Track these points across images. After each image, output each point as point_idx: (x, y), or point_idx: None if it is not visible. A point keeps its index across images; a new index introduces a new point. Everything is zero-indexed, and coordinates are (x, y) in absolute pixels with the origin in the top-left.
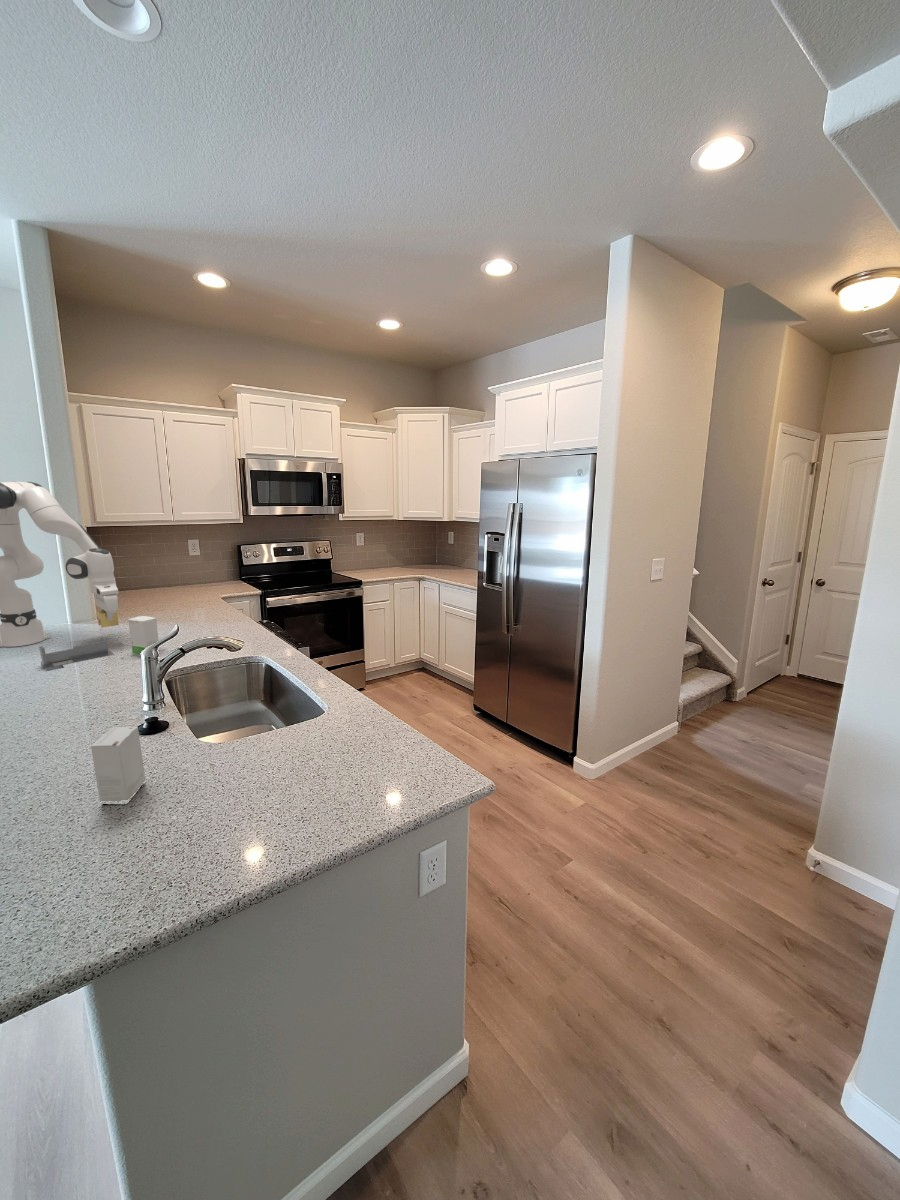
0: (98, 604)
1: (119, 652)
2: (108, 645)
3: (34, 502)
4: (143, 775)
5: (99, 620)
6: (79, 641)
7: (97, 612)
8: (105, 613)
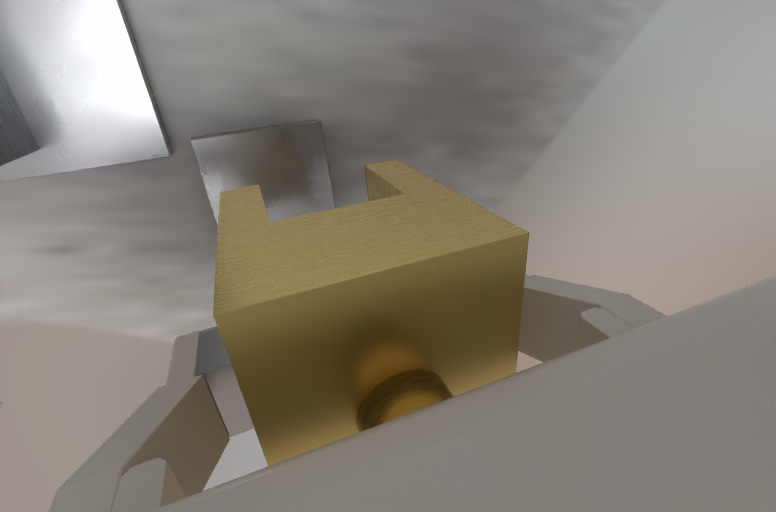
0: (736, 359)
1: (73, 233)
2: (298, 170)
3: None
4: None
5: (393, 195)
6: (602, 2)
7: (483, 235)
8: (246, 404)
